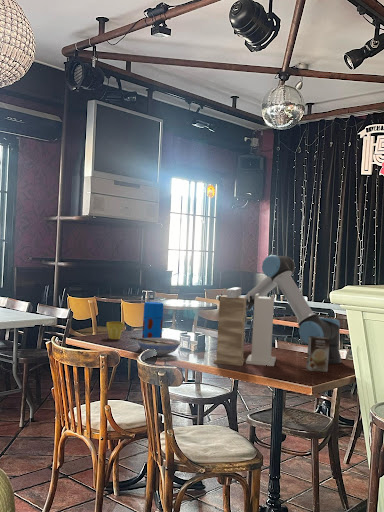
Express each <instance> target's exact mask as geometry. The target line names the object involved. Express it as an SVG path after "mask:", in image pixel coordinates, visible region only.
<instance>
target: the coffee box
mask: <svg viewBox="0 0 384 512" xmlns="http://www.w3.org/2000/svg"><path fill="white" fill-rule="evenodd" d="M329 342H330V339H329V338H326V337H314V336H309V339H308V343H307V354H306V368H305V369H307V370H308V371H310V372H322V373H323V372H325V373H326V372H328V370H329V368H328V367H329V363H328V356H329Z"/></svg>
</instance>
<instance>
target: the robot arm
mask: <svg viewBox="0 0 384 512" xmlns="http://www.w3.org/2000/svg"><path fill="white" fill-rule="evenodd" d="M295 269H296V264H295V261H294V260H293V259H292V258H291V257H290V256H286V255H275V254H272V255H268V256H266V257H265V258H264V259H263V261H262V265H261V271H262V273H263V274H264V275H265V276H266V277H265V278H264V279H263V280H262V281H261V282H259V283H258V284H257V285H256V286H254V287H253V288H252V289H251V290H250V291H248V292H247V294H245V295H244V296H243V297H246V312H250V311H252V310H254V301H255V295H256V294H257V293H258V294H259V296H261V297H266V295H268V294H269V293H270V292H271V291H273V289H275V288H276V287H278V288H279V289H280V291H281V293H282V295H283V296H284V298H285V300H286V302H287V303H288V305H289V306H290V308H291V310H292V312H293V314H294V315H295V317H296V319H297V320H298V323H297V325H298V330H299V331H298V334H299V337H300V339H301V340H302V341H303V342H304V343H306V344H308V339H309V336H314V337H326V338H329V339H330V342H329V356H328V364H330V365H331V364H332V365H333V364H335V365H336V364H338V365H339V364H341V363H342V357H341V352H340V349H339V346H340V345H339V343H340V329H341V327H340V325H341V323H340V320H339V319H334V318H328V317H327V318H326V317H321V316H319V314H318V313H314V312H313V310H312V309H311V307H310V306H309V303H308V302H307V301H306V299H305V297H304V295H303V294H302V292H301V290H300V289H299V287H298V286H297V284H296V282H295V281H294V279H293V277H292V276H293V274H294V273H295V271H296V270H295ZM225 291H226V290H225V289H223V290H222V293H221V295H219V296H218V301H219V302H220V296H223V295H226V292H225ZM247 323H248V317H247V313H246V314H245V326H246V325H247Z"/></svg>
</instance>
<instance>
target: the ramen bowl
mask: <svg viewBox="0 0 384 512" xmlns="http://www.w3.org/2000/svg"><path fill="white" fill-rule="evenodd" d="M130 340H136V341H137V343H138V345H139V347H140V348H141V350H143V351H144V352H146V351H145V350H147V349H155V350H156V352H157V356H156V357H164V356H166V355H169V354H171V353H173V352H175V351H176V350H177V349H178V348H179V347H180V344H181V340H177V339H175V338H174V339H173V338H165V337H162V338H142V337H141V338H138V337H130Z"/></svg>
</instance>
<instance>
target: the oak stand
mask: <svg viewBox="0 0 384 512" xmlns="http://www.w3.org/2000/svg"><path fill="white" fill-rule="evenodd" d="M219 296H220V301H219V307H218V322H217V323H218V324H217V341H216V357H215V358H214V360H213V364H216V365H227V366H238V367H239V366H240V367H242V366H244V363H246V358H245V357H244V347H245V346H244V345H245V331H246V330H245V328H246V325H245V314H246V315H247V311H246V297H244V296H242V295H241V296H238V297H236V298H227V294H225V295H223V296H221V295H219Z"/></svg>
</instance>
